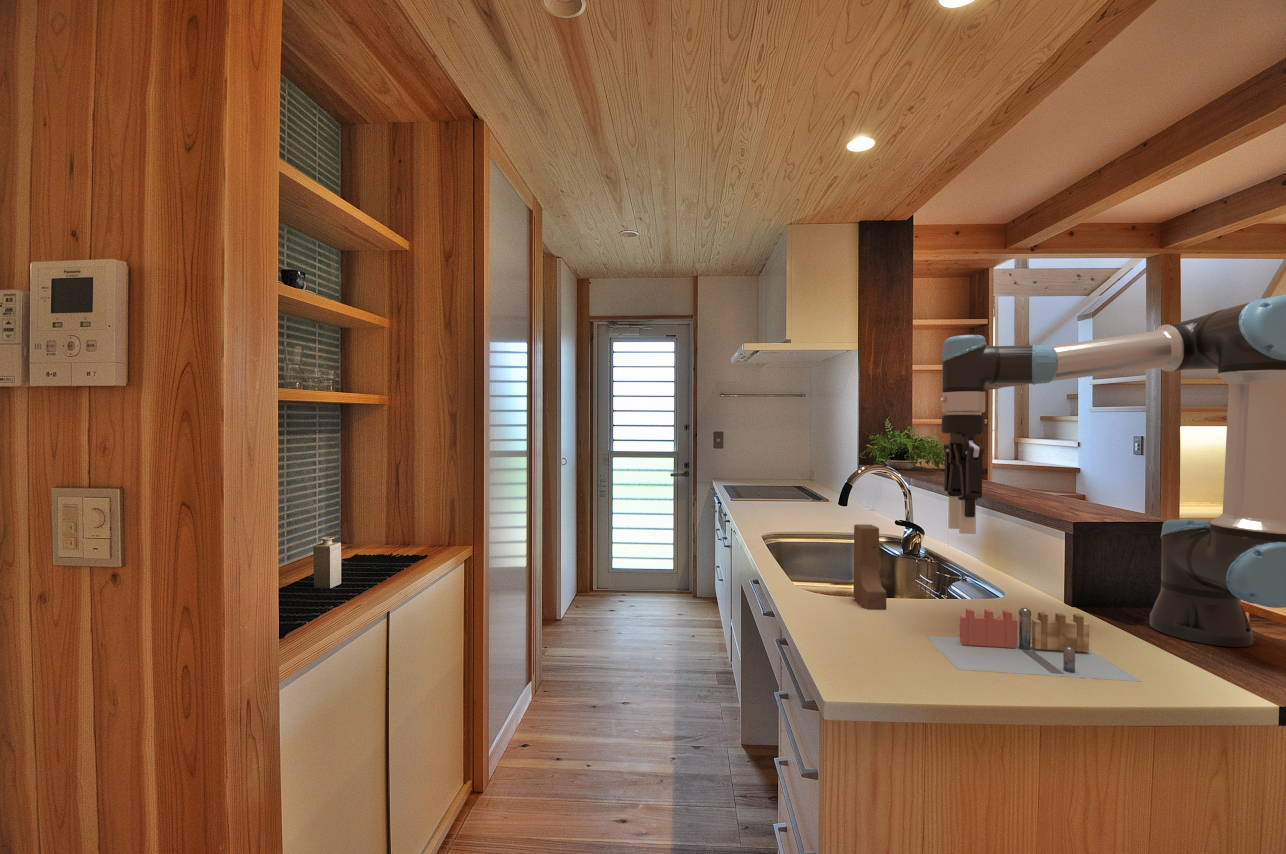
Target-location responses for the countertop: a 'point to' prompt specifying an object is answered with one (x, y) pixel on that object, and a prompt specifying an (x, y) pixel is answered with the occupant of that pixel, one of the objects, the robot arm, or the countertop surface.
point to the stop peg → (1069, 659)
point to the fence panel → (989, 629)
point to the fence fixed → (1060, 633)
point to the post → (1024, 629)
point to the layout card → (1026, 660)
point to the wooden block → (867, 568)
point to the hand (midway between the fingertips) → (961, 530)
